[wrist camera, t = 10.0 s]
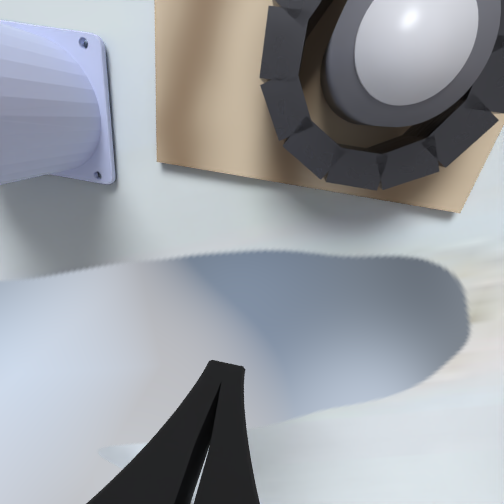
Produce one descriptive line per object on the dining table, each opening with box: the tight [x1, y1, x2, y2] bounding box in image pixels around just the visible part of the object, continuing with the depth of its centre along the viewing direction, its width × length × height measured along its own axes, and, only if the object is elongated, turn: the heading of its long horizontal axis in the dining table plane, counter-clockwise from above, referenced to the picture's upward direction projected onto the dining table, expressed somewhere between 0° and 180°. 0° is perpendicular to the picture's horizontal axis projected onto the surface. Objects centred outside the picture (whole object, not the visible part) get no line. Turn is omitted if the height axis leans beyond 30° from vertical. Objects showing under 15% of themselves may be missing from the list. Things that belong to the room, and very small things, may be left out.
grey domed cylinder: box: [321, 0, 501, 127], centre depth 11 cm, size 5×5×5 cm
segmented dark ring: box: [259, 0, 504, 191], centre depth 12 cm, size 10×10×3 cm
